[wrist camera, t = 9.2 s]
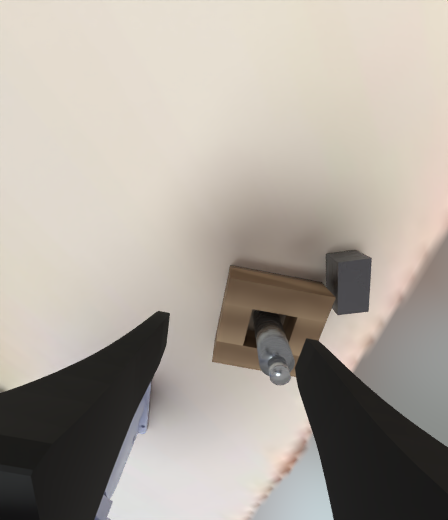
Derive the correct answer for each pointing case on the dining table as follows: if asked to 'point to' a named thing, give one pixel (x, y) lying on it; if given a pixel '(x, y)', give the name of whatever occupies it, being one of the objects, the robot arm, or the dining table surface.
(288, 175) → the dining table surface
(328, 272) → the square bar
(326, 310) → the socket block
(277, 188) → the dining table surface
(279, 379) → the round bit
